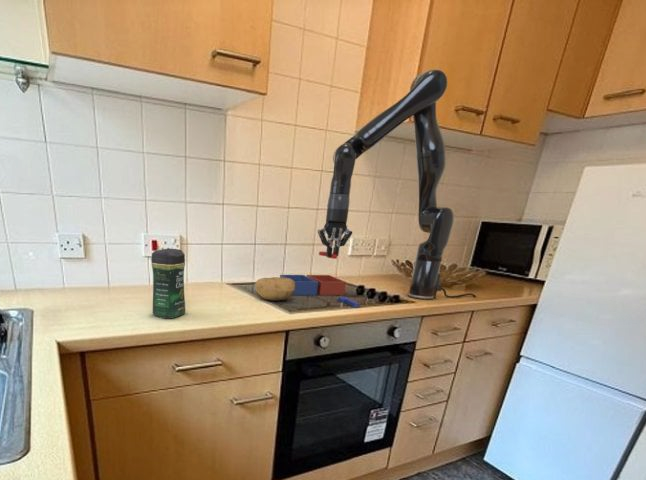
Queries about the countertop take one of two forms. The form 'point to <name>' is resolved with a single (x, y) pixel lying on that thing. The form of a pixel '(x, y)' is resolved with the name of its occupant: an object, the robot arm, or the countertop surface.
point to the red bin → (329, 285)
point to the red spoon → (326, 256)
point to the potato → (275, 288)
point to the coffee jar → (168, 283)
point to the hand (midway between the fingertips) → (331, 257)
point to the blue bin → (303, 284)
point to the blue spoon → (348, 301)
